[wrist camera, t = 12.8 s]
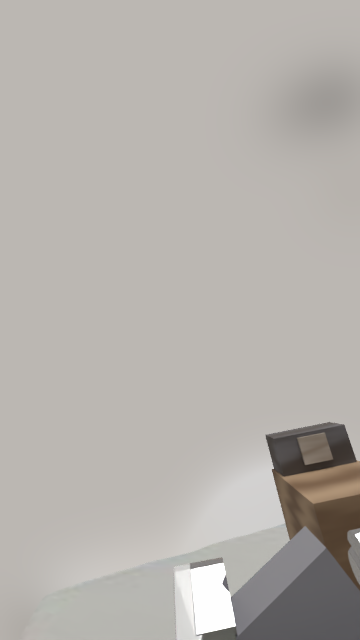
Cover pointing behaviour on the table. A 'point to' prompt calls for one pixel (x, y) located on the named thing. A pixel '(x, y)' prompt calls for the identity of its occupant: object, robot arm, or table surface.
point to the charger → (298, 596)
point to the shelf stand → (318, 485)
